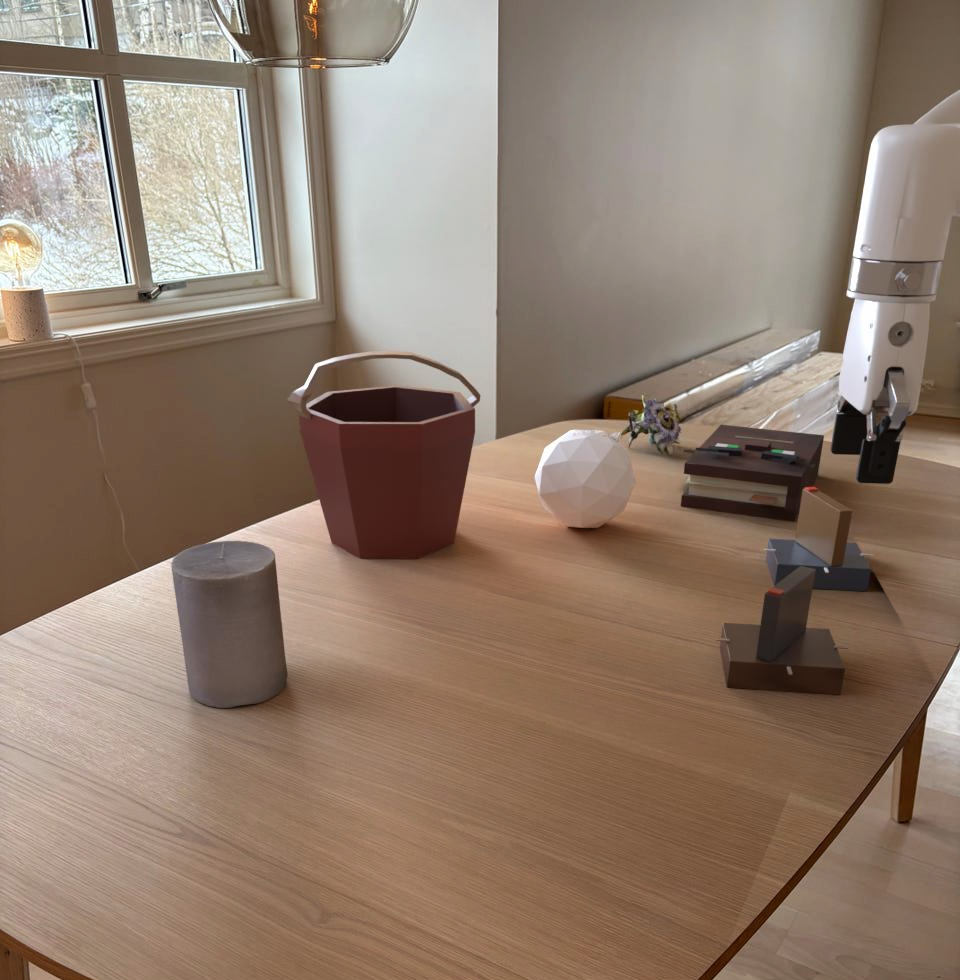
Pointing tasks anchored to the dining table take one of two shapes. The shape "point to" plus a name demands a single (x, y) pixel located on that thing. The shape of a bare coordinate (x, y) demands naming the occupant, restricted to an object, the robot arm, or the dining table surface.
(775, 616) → the frame near
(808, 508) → the frame far
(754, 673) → the stand near
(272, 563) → the pillar candle
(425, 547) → the bucket
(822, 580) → the stand far
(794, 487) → the decorative book
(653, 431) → the passion flower
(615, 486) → the geodesic sphere
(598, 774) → the dining table surface
